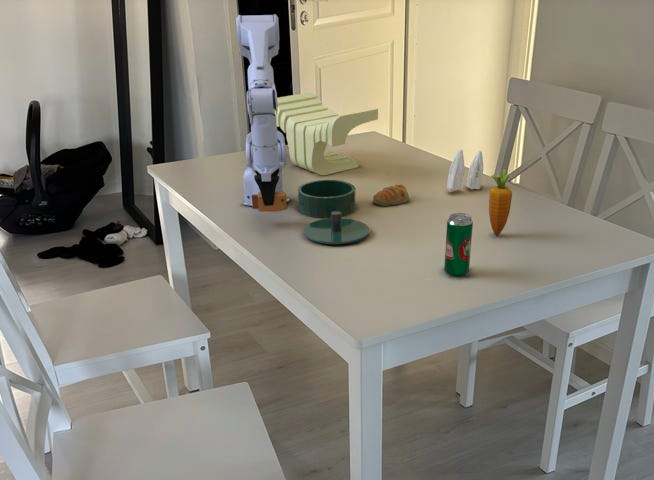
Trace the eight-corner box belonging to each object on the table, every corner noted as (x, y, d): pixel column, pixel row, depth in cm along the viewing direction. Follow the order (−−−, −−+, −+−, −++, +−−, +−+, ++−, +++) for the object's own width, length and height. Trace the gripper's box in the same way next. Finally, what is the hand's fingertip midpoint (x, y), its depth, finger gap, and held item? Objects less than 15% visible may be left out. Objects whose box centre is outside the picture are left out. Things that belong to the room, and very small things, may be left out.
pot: (340, 221, 178) (339, 201, 176) (288, 212, 183) (287, 193, 181) (364, 203, 189) (364, 184, 187) (315, 195, 194) (314, 177, 192)
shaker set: (450, 196, 193) (453, 154, 187) (440, 192, 196) (443, 150, 190) (485, 188, 198) (489, 147, 193) (475, 184, 201) (478, 143, 196)
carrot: (494, 241, 166) (500, 175, 159) (481, 234, 170) (486, 169, 162) (512, 237, 168) (519, 172, 161) (498, 230, 172) (505, 166, 164)
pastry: (383, 209, 185) (383, 194, 183) (366, 202, 190) (366, 188, 188) (411, 201, 190) (411, 186, 188) (394, 195, 195) (394, 180, 193)
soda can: (441, 267, 154) (445, 212, 148) (465, 266, 155) (470, 211, 148) (446, 278, 150) (450, 221, 144) (471, 277, 150) (475, 220, 144)
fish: (252, 212, 173) (251, 197, 171) (253, 206, 176) (251, 192, 174) (286, 211, 173) (286, 196, 171) (286, 205, 176) (286, 190, 175)
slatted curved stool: (272, 160, 222) (268, 99, 213) (314, 151, 231) (312, 91, 222) (332, 184, 202) (331, 117, 193) (377, 173, 211) (378, 108, 202)
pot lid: (352, 251, 162) (352, 229, 160) (291, 240, 168) (290, 218, 165) (379, 228, 174) (380, 207, 171) (322, 218, 180) (321, 198, 177)
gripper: (282, 152, 161) (286, 212, 168) (282, 135, 173) (285, 191, 180) (250, 153, 160) (254, 213, 167) (252, 136, 173) (256, 192, 180)
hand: (268, 202), depth 174 cm, fingers closed on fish, 3 cm apart
